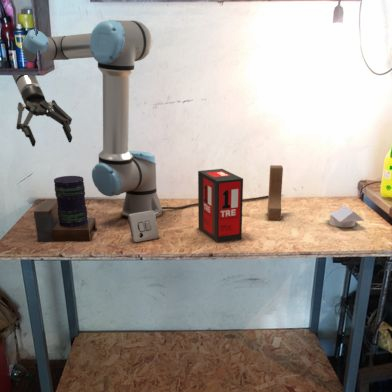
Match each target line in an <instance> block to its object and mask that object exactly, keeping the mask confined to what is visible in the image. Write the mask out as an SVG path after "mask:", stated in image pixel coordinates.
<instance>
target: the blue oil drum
mask: <svg viewBox="0 0 392 392" xmlns="http://www.w3.org/2000/svg"><path fill="white" fill-rule="evenodd" d="M84 181H85V180H84V177H83V176H80V175H63V176H58V177H55V178H54V179H53V183H54V184H53V185H54V192H55V193H54V194H55V197H56V200H57V203H58V217H59V221H60V222H59V224H60V226H62V227H70V228H71V227H80V226H84V225H86V224H88V220H87V218H88V210H87V205H86V197H85V196H86V191H85V189H86V188H85V182H84Z"/></svg>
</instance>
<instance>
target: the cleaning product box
mask: <svg viewBox="0 0 392 392" xmlns="http://www.w3.org/2000/svg"><path fill="white" fill-rule="evenodd" d="M243 192H244V178H243V177H241V176H238V175H236V174H234V173H232V172H230V171H228V170H226V169H223V168H214V169H205V170H198V171H197V195H198V196H197V201H198V202H197V203H198V205H197V206H198V207H197V208H198V210H197V211H198V215H197V216H198V230H200V231H201V232H202V233H204V234H205V235H206V236H208V237H209V238H210V239H212V240H213V241H214V242H216V243H217V244H218V243H223V242H224V243H225V242H231V241H238V240H242V237H243V236H242V235H243V233H242V232H243V204H244V203H243V202H244V201H243V199H244V196H243V195H244V193H243Z"/></svg>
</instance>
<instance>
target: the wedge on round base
mask: <svg viewBox="0 0 392 392" xmlns="http://www.w3.org/2000/svg"><path fill="white" fill-rule="evenodd" d="M364 221H365V219H364V218H362V217H361V216H360V215H358V213H357V212H355V211H354V210H353V209H351V208H349V207H348V206H347V205H346V204H345V205H343V206H341V207H340V208H338V209H337V210H335V211H332V212H330V215H329V224H330V225H331V226H333V227H336V228H351V227H355V226H356V222H364Z"/></svg>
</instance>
